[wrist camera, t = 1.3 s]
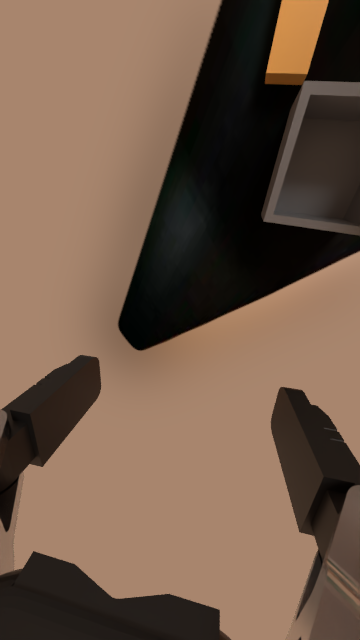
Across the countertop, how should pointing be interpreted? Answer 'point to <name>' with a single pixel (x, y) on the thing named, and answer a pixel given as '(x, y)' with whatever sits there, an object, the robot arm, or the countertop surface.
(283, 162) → the storage box
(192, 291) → the countertop surface
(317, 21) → the orange rectangular block
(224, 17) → the countertop surface
